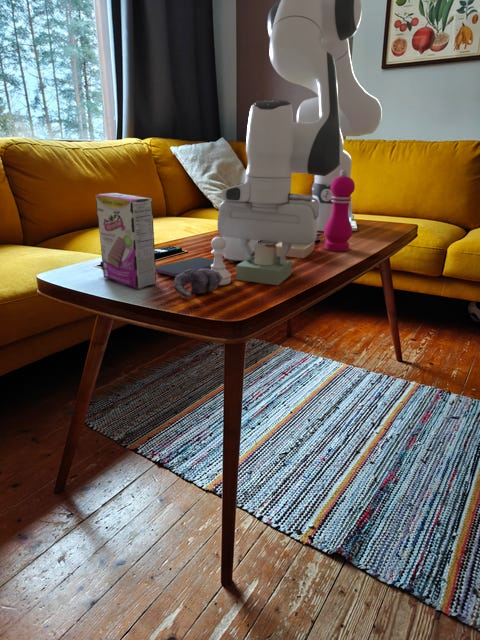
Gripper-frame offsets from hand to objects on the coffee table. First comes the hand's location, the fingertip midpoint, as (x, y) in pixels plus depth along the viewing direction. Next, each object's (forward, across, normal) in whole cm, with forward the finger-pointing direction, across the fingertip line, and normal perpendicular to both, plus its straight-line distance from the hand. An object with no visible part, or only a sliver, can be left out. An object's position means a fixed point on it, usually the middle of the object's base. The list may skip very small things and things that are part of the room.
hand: (264, 262), depth 92 cm
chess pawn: (+3, +7, +7) cm, 11 cm away
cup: (+3, +10, -11) cm, 15 cm away
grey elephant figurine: (+3, +7, +15) cm, 17 cm away
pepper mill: (+3, -8, -34) cm, 35 cm away
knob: (0, 0, 0) cm, 0 cm away
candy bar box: (+3, +23, +15) cm, 27 cm away
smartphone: (+3, +17, +2) cm, 17 cm away
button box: (+3, +1, -25) cm, 25 cm away
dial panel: (+3, 0, 0) cm, 3 cm away
